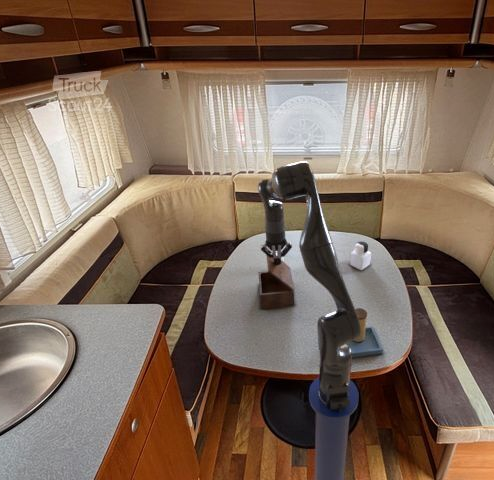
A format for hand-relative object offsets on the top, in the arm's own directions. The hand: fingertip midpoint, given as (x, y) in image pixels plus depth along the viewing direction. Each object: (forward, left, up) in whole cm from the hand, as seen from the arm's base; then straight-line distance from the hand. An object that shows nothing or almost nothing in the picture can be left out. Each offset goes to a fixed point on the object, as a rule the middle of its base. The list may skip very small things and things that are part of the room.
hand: (277, 264), depth 146 cm
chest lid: (0, -1, -3) cm, 3 cm away
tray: (-32, -26, -16) cm, 44 cm away
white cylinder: (+20, -1, -16) cm, 26 cm away
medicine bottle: (+16, -41, -16) cm, 47 cm away
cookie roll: (-30, -27, -16) cm, 43 cm away
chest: (0, +1, -16) cm, 16 cm away
